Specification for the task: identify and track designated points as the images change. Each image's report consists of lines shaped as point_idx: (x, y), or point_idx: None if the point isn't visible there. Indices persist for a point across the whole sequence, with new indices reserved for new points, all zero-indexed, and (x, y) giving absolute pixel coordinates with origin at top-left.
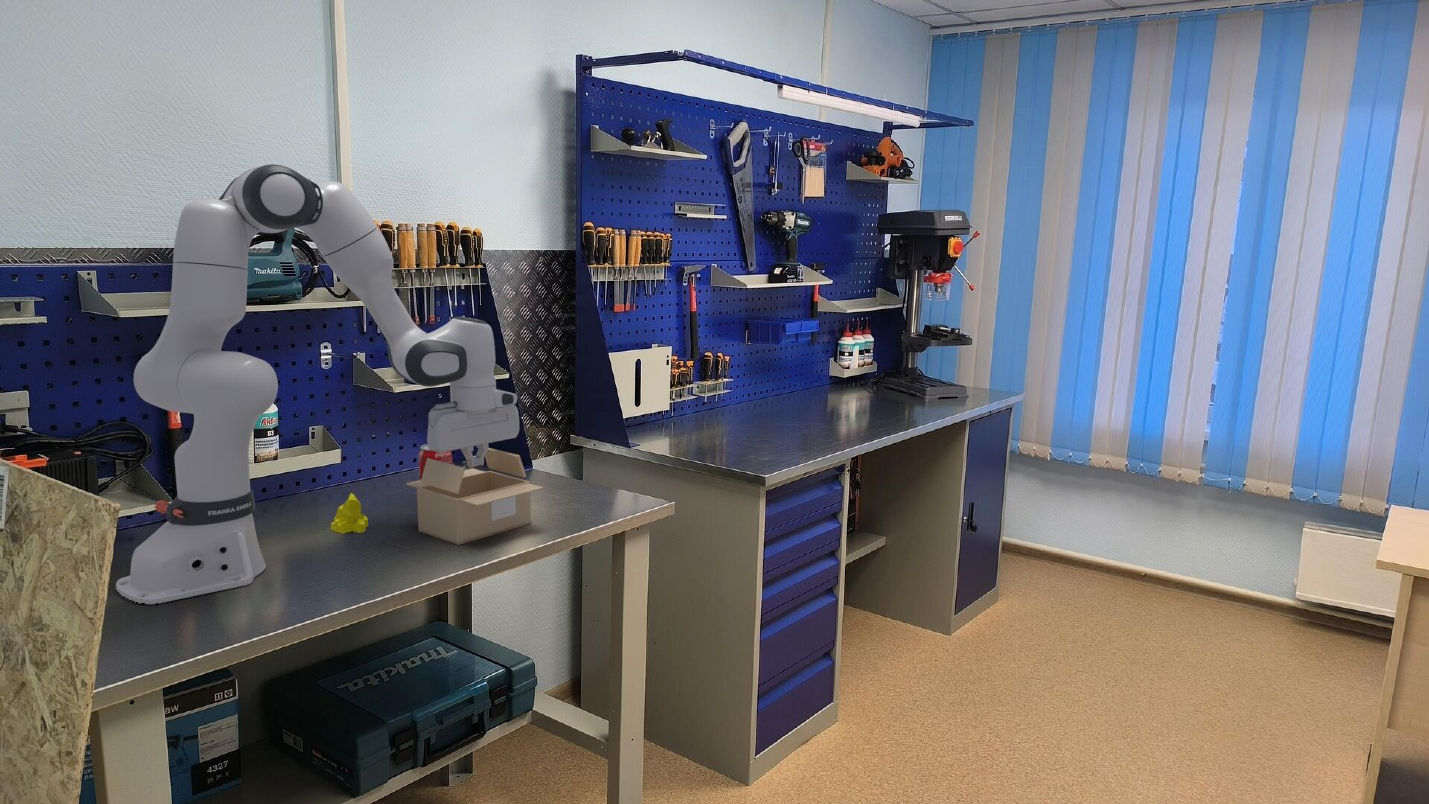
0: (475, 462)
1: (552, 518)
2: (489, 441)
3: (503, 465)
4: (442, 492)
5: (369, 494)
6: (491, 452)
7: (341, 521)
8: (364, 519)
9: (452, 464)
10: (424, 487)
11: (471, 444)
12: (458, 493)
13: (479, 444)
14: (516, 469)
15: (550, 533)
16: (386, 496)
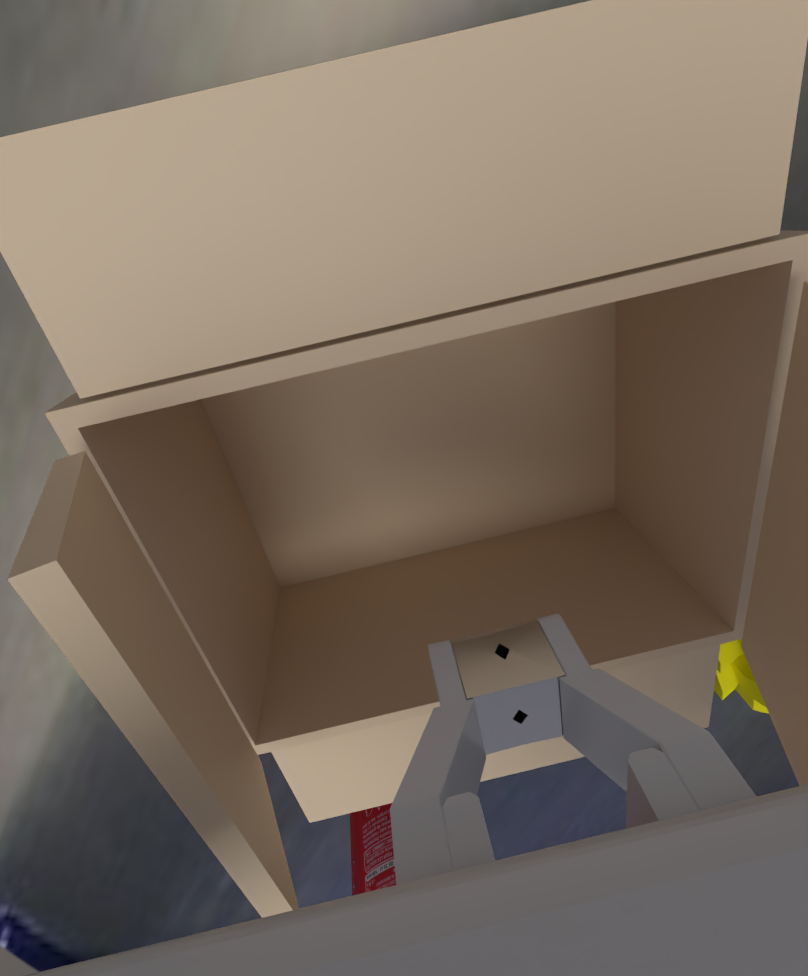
0: (537, 649)
1: (18, 357)
2: (407, 905)
3: (198, 683)
4: (567, 622)
5: (517, 853)
6: (257, 842)
7: None
8: (726, 647)
9: (361, 890)
10: (703, 633)
11: (776, 826)
12: (803, 283)
13: (596, 840)
14: (120, 547)
15: (107, 79)
16: (492, 829)
